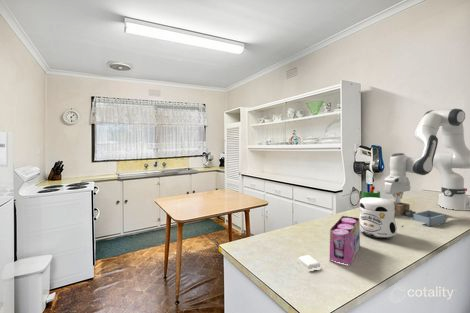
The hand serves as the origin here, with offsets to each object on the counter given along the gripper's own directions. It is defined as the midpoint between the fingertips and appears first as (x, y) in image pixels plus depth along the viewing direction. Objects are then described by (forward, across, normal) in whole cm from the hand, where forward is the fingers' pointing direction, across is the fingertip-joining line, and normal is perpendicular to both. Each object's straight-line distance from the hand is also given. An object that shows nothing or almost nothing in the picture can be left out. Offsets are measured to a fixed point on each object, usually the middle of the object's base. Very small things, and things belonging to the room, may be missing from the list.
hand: (397, 199), depth 152 cm
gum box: (+10, +72, +25) cm, 77 cm away
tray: (+10, -1, +18) cm, 20 cm away
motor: (+11, +15, -7) cm, 20 cm away
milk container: (+10, +41, +16) cm, 45 cm away
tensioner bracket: (+10, 0, +3) cm, 11 cm away
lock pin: (+8, 0, 0) cm, 8 cm away
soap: (+10, +94, +26) cm, 98 cm away
